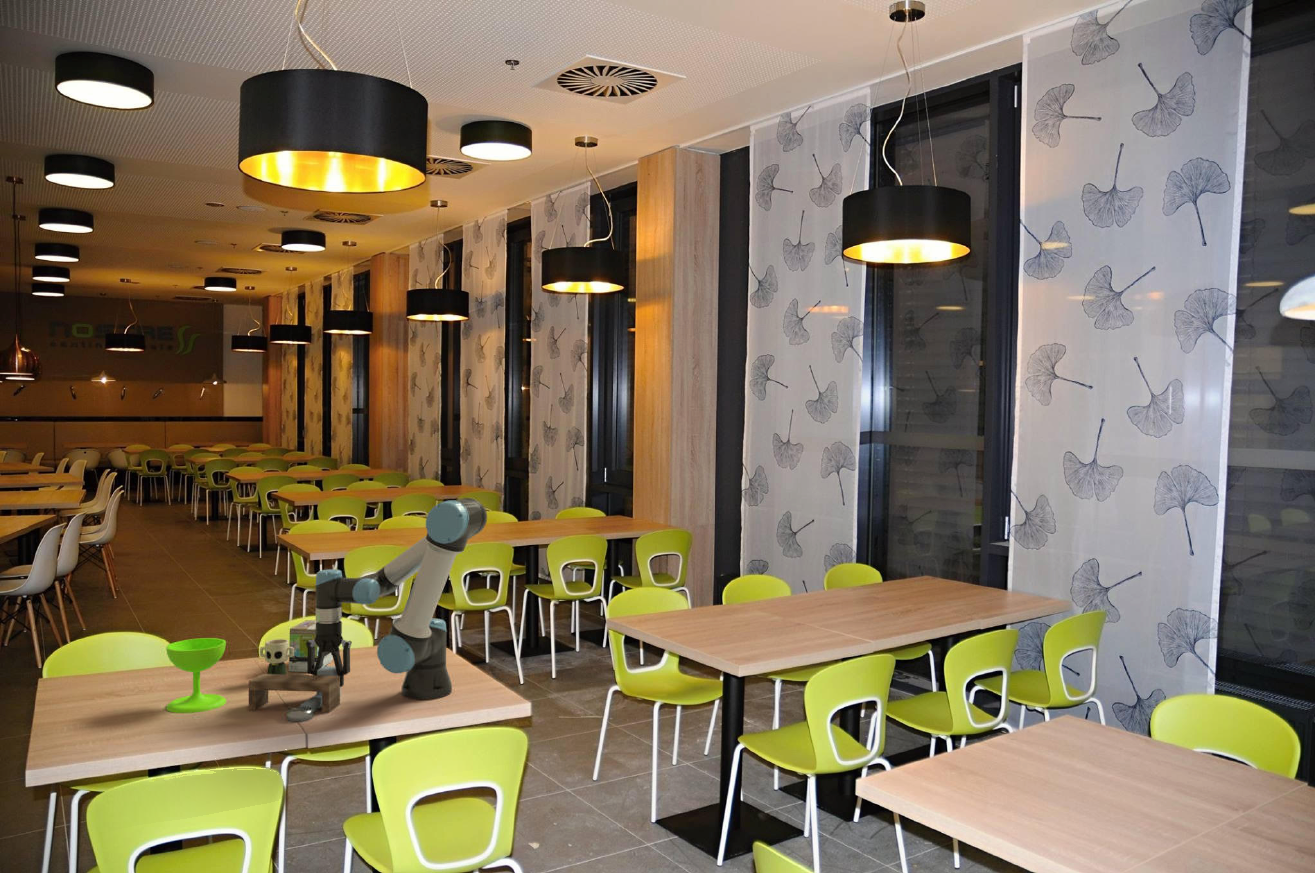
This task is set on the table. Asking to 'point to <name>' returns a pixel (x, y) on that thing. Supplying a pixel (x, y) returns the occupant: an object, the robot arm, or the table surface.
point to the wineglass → (196, 671)
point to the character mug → (277, 655)
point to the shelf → (295, 688)
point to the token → (299, 714)
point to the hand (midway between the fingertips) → (328, 696)
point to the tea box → (304, 646)
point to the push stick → (316, 700)
